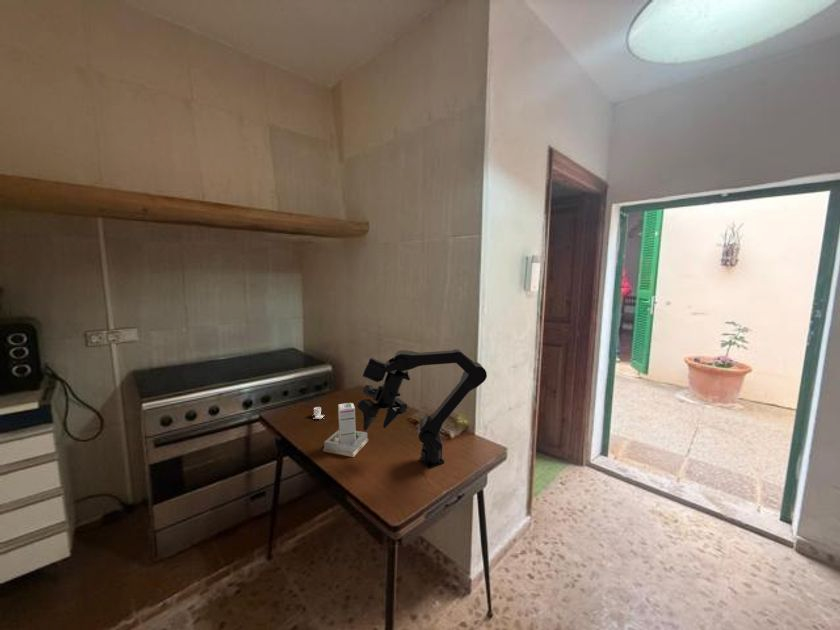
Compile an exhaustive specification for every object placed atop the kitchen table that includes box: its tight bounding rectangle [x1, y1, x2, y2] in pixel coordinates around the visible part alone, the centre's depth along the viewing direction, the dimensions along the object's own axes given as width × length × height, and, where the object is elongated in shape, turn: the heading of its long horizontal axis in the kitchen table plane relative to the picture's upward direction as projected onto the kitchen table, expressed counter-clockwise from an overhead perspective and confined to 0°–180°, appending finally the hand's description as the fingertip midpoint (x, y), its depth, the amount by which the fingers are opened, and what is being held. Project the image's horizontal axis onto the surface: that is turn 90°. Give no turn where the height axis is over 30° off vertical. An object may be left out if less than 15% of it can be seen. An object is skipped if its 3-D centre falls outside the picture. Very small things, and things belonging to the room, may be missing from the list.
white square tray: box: [322, 429, 369, 458], centre depth 122 cm, size 12×12×4 cm
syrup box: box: [337, 402, 357, 445], centre depth 122 cm, size 6×6×14 cm
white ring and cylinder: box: [313, 406, 324, 420], centre depth 148 cm, size 9×8×4 cm
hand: (374, 428), depth 111 cm, fingers open, 9 cm apart
